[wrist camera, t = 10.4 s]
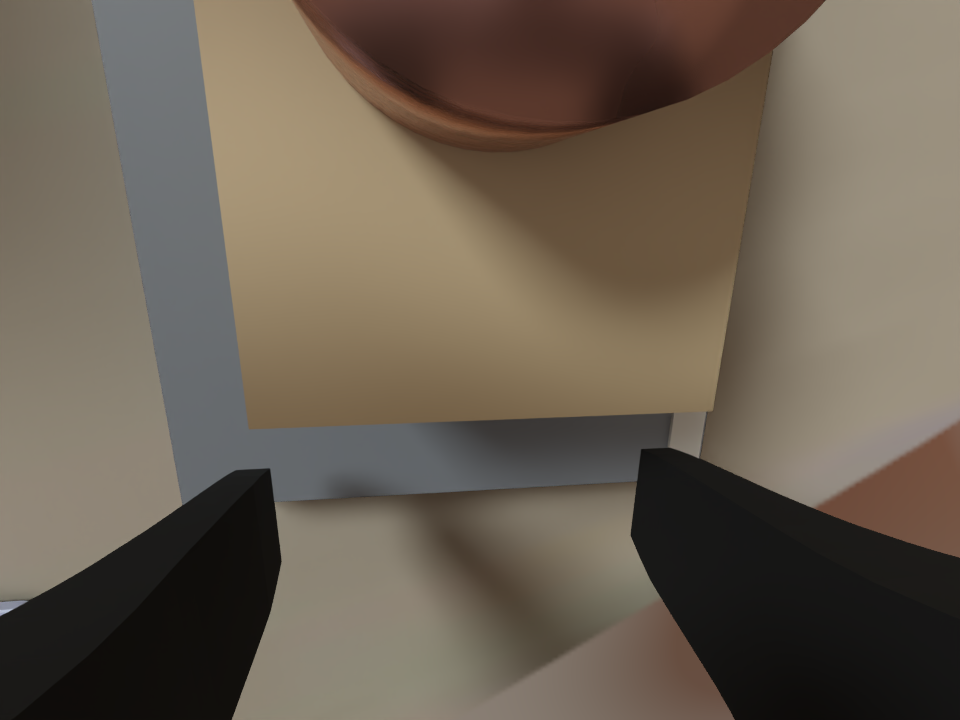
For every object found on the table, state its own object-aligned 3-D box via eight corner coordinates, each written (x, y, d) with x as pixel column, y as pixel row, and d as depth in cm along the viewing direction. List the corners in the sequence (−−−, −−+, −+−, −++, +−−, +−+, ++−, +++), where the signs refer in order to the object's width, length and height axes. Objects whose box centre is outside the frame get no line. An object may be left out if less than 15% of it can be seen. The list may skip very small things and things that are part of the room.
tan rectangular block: (585, 319, 11) (712, 411, 7) (319, 323, 11) (249, 429, 6) (635, -297, 8) (937, -942, 4) (266, -351, 8) (29, -1259, 3)
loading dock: (652, 433, 15) (698, 480, 13) (221, 452, 14) (181, 509, 11) (765, -433, 10) (885, -641, 7) (69, -567, 8) (-72, -885, 6)
